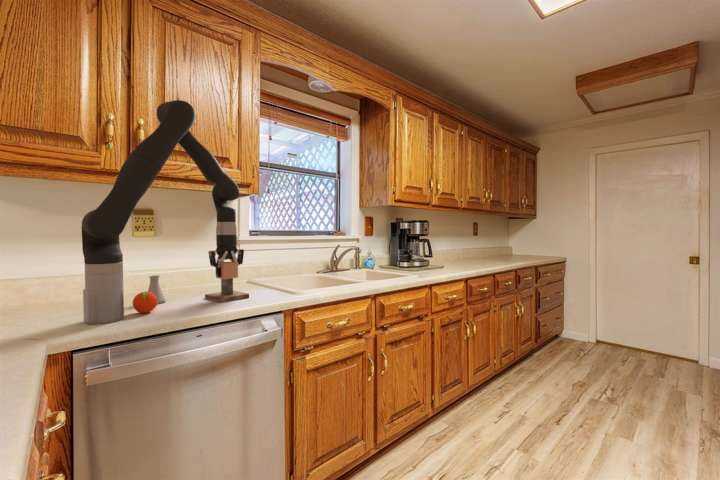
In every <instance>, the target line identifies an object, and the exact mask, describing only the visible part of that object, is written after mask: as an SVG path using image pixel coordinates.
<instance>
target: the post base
mask: <svg viewBox="0 0 720 480" xmlns="http://www.w3.org/2000/svg"><path fill="white" fill-rule="evenodd" d="M220 280H221V281H220V288H221V290H220V292H219V291H218V292H214V293H213V292H212V293H207V294H206V293H205V294H204V299H207V300H211V301H214V302H217V303H225V302H231V301H237V300H244V299H249V298H250V293H247V292H242V291H239V290H234V278H230V279H220Z"/></svg>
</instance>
